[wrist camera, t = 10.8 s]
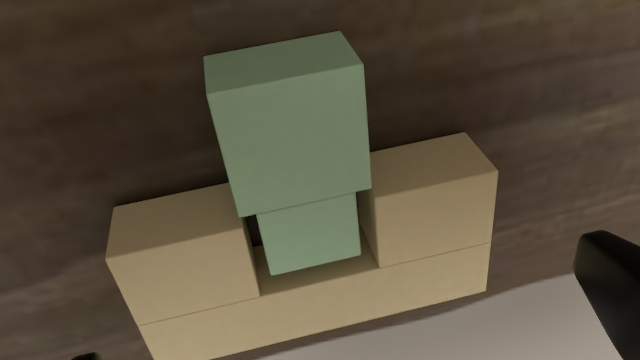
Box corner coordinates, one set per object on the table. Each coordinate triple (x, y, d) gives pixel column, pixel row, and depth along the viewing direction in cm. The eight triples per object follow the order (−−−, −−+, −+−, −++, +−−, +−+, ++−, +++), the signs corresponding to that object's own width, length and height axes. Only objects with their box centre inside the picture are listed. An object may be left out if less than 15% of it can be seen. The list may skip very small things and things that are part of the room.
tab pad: (202, 55, 15) (205, 94, 13) (340, 29, 16) (364, 63, 14) (247, 230, 19) (255, 280, 17) (356, 206, 19) (376, 252, 17)
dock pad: (161, 317, 21) (159, 372, 19) (112, 206, 17) (103, 259, 15) (458, 246, 22) (486, 291, 20) (465, 131, 19) (499, 170, 17)
